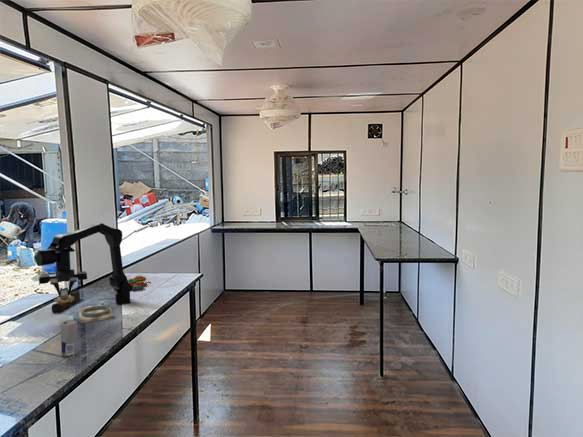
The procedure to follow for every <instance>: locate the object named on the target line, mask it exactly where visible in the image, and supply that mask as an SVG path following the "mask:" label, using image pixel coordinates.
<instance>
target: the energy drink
mask: <svg viewBox="0 0 583 437" xmlns="http://www.w3.org/2000/svg"><path fill="white" fill-rule="evenodd" d="M78 328H79V327H78V322H77V320H76V319H75V320H74V319H68V320H64V321H62V322H61V324H60V340H61V341H60V342H61V344H60V345H61V346H60V347H61V355H62V357H65V356H69V357H72V356H71V355H73V356H76V355H77V354H79V331H78ZM75 354H76V355H75Z"/></svg>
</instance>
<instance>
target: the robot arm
mask: <svg viewBox="0 0 583 437" xmlns="http://www.w3.org/2000/svg"><path fill="white" fill-rule="evenodd" d="M98 233H99V234H101V235H104V238H105V241H106V243H107V244H108V246H109V252H110V253H109V254H110V259H111V267H112V275H111V276H108V279H109V285H110V286H111V288H113V290H114V291H116V292H115V298H114V299H115V303H116V305H123V304H124V305H125V304H131V303H132V301H131V291H132V289H133V287H132V286H131V285H130V284H128V280H129V279H128V278H127V276H126V274H125V272H124V267H123V266H124V265H123V258H122V251H121V243H122V242H123V231H122V230H121V229H119V228H114V227H111V226H109V225H106V224H104V223H101V222H96V223H94V224H91V225H89V226H86V227H83V228H81V229H77V230H75V231H73V232H64V233H60V234H56V235H55V236H53V239H52V241H51V243H50V244H49V246H48V247H47V249H44V250H43V249H38V250H37V253H36V256H35V258H34V259H35V263H36V265H37V267H43V266H49V265H54V264H55V275H53V276H52V275H51V276H50V274H41V275H40V276H39V277H38V285H42V284H43V285H45V284H48V283H49V284H50V285H52V286H54V288H55V290H56V292H57V295H58V297H60V288H61V287H60V283H62V282H68V296H70V293H72V288H73V286H74V284H75V283H77V282H78V280H79V281H85V280H87V279H88V272H86V271H77V272H76V273H75V269H72V268H71V253H72V252H75V251H76V249H74V248H73V247H72V246H73V245H75V244H76V243H77V242H78V241H80V240H82V239H85V238H87V237H90V236H92V235H94V234H98ZM132 292H133V291H132Z"/></svg>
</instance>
